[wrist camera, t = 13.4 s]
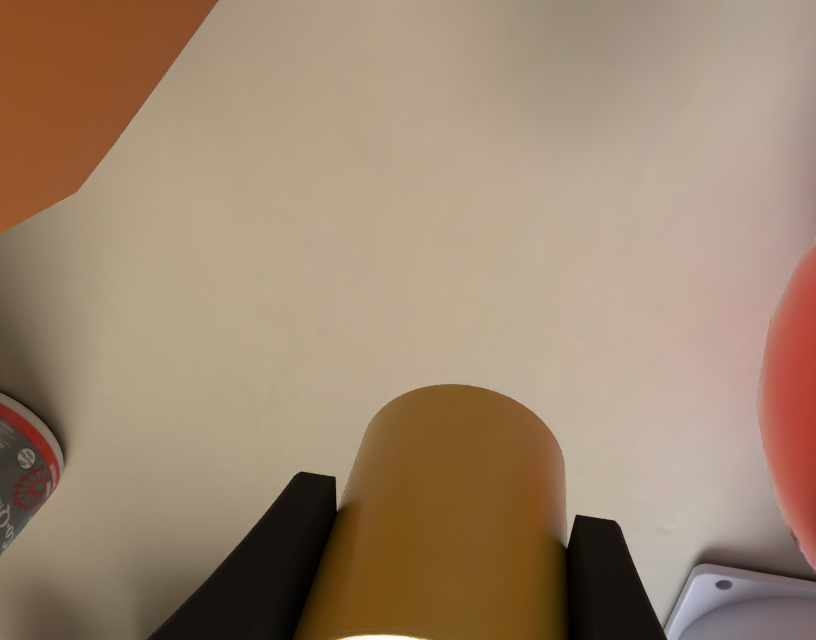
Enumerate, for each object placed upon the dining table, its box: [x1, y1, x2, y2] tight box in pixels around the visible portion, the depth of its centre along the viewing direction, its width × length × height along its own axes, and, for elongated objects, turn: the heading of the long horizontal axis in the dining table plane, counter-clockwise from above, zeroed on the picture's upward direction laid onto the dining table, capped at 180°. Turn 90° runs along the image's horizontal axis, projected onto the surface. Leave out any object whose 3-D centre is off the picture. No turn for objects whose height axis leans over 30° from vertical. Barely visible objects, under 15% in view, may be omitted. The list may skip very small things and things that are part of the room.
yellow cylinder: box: [291, 384, 570, 640], centre depth 11 cm, size 4×4×5 cm
